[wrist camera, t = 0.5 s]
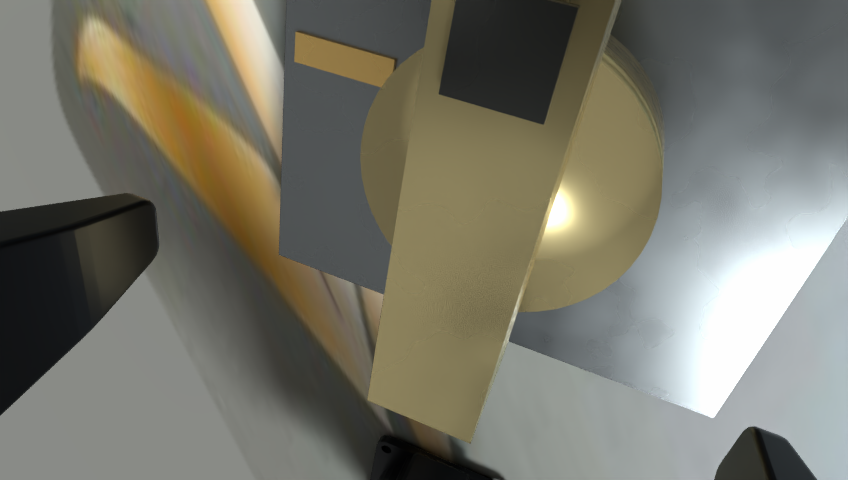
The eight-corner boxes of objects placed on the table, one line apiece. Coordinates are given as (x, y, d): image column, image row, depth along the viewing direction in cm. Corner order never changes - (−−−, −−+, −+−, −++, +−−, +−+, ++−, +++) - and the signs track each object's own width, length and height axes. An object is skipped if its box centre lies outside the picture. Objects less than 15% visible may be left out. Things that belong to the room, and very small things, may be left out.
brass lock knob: (592, 328, 16) (561, 490, 12) (380, 252, 18) (282, 372, 13) (744, -20, 11) (787, 39, 7) (431, -90, 13) (299, -78, 8)
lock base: (710, 376, 21) (716, 466, 17) (305, 230, 24) (247, 283, 21) (1058, -178, 12) (1201, -203, 8) (337, -290, 15) (243, -338, 12)
